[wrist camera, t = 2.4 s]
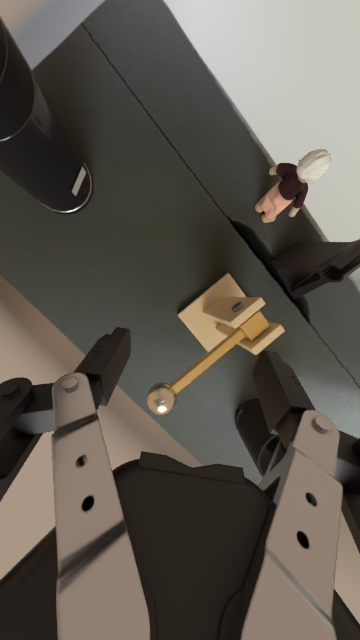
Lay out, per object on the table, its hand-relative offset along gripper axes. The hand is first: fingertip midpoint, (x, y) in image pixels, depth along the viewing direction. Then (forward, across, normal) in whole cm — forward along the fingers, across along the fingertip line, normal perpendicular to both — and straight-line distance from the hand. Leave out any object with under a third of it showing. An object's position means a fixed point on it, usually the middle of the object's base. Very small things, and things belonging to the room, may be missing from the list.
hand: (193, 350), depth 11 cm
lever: (+9, -2, +9) cm, 13 cm away
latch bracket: (+22, -6, +10) cm, 25 cm away
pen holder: (+15, -17, +28) cm, 36 cm away
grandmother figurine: (+32, -11, -8) cm, 35 cm away
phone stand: (+29, -19, +1) cm, 35 cm away
